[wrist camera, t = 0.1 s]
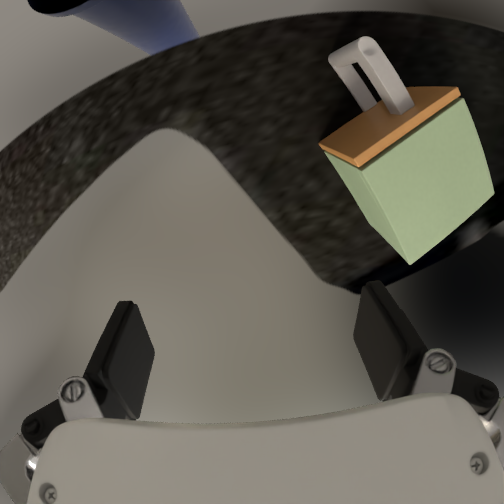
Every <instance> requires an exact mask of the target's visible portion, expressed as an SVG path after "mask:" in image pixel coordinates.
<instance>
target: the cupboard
mask: <svg viewBox="0 0 504 504" xmlns="http://www.w3.org/2000/svg"><path fill="white" fill-rule="evenodd" d="M324 152H325V154H326V155H327V157H328V158H329V160H330V161H331V163H332V164H333V166H334V167H335V169H336V170H337V172H338V173H339V175H340V176H341V178H342V179H343V181H344V183H345V184H346V186H347V187H348V189H349V190H350V192H351V194H352V195H353V197H354V199H355V200H356V202H357V204H358V205H359V207H360V209H361V210H362V212H363V214H364V215H365V217H366V219H367V221H368V222H369V224H370V225H372V226H373V227H374V228H375V229H376V230H377V231H378V232H379V233H380V234H381V235H382V236H383V237H384V238H385V239H386V240H387V241H388V243H389V244H390V245H391V246H392V247H393V248H394V249H395V250H396V251H397V252H398V253H399V254H400V255H401V256H402V257H403V258H404V259H405V260H406V261H407V263H408V264H409V265H411V264H412V263H413V262H415V261H416V260H417V259H419V258H420V257H421V256H422V255H424V254H425V253H426V252H428V251H429V250H430V249H431V248H433V247H434V246H435V245H436V244H438V243H439V242H440V241H441V240H442V239H444V238H445V237H446V236H447V235H449V234H450V233H451V232H452V231H453V230H454V229H456V228H457V227H458V226H459V225H460V224H461V223H463V222H464V221H465V220H466V219H467V218H468V217H469V216H471V215H472V214H473V213H474V212H475V211H476V210H477V209H478V208H479V207H480V206H482V205H483V204H484V203H485V202H486V201H487V200H488V199H489V198H490V197H491V196H492V195H493V194H494V190H493V185H492V181H491V177H490V173H489V170H488V166H487V162H486V159H485V155H484V152H483V149H482V146H481V143H480V140H479V137H478V134H477V131H476V128H475V125H474V123H473V120H472V117H471V115H470V112H469V110H468V107H467V105H466V103H465V100H464V98H456V99H455V100H453V101H452V102H450V103H449V104H447V105H446V106H445V107H443V108H442V109H440V110H439V111H437V112H436V113H435V114H433V115H432V116H430V117H429V118H428V119H426V120H425V121H423V122H422V123H421V124H419V125H418V126H416V127H415V128H413V129H412V130H411V131H409V132H408V133H406V134H405V135H404V136H402V137H401V138H399V139H398V140H397V141H395V142H394V143H392V144H391V145H390V146H388V147H387V148H385V149H384V150H383V151H381V152H380V153H378V154H377V155H376V156H374V157H373V158H371V159H370V160H369V161H367V162H366V163H364V164H363V165H362V166H360V167H357V166H355V165H353V164H351V163H349V162H348V161H346V160H344V159H342V158H340V157H338V156H336V155H334V154H332V153H330V152H328V151H324Z"/></svg>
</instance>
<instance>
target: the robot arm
mask: <svg viewBox="0 0 504 504" xmlns="http://www.w3.org/2000/svg"><path fill="white" fill-rule="evenodd" d="M353 335H354V341H355V344H356V346H357V348H358V350H359V353H360V355H361V358H362V360H363V363H364V365H365V367H366V370H367V372H368V375H369V377H370V380H371V382H372V385H373V387H374V390H375V392H376V395H377V397H378V399H379V400H382V401H383V402H380V403H376V404H371V405H366V406H362V407H357V408H352V409H347V410H342V411H337V412H331V413H326V414H320V415H313V416H306V417H299V418H291V419H282V420H272V421H261V422H246V423H220V424H218V423H217V424H190V423H163V422H147V421H136V419H138V418H139V417H140V413H141V409H142V405H143V400H144V396H145V392H146V388H147V384H148V379H149V375H150V371H151V368H152V364H153V360H154V356H155V355H154V354H155V352H154V348H153V345H152V343H151V340H150V338H149V335H148V332H147V330H146V327H145V324H144V322H143V319H142V317H141V314H140V311H139V308H138V306H137V304H134V303H133V302H132V301H119V302H118V303H117V305H116V307H115V309H114V312H113V313H112V315H111V317H110V319H109V321H108V323H107V325H106V327H105V329H104V332H103V334H102V335H101V337H100V339H99V341H98V344H97V346H96V348H95V350H94V352H93V355H92V357H91V359H90V361H89V363H88V366H87V368H86V370H85V373H84V375H83V377H79V376H73V377H70V378H68V379H66V380H65V381H63V383H62V384H61V385H60V387H59V388H58V393H57V394H58V399H57V400H55V401H53V402H52V403H50V404H48V405H46V406H45V407H43V408H41V409H39V410H37V411H36V412H34V413H32V414H31V415H29V416H28V417H26V419H25V420H24V421H23V423H22V427H21V432H22V434H21V435H19V434H18V433H17V434H16V435H15V436H14V437H13V438H12V440H10V442H8V443H7V445H6V446H4V447H3V449H2V450H1V451H0V483H1V484H2V486H3V487H4V489H5V490H6V492H7V493H8V495H9V496H10V498H11V499H12V501H13V502H14V503H15V504H504V396H503V397H502V399H501V398H500V397H499V391H498V388H497V387H496V385H495V384H494V383H493V382H491V381H489V380H487V379H484V378H481V377H479V376H476V375H473V374H471V373H468V372H465V371H462V370H460V369H457V368H456V361H455V359H454V357H453V356H452V355H451V354H450V353H449V352H447V351H445V350H443V349H431V350H429V351H428V349H427V347H426V346H425V345H424V343H423V341H422V340H421V338H420V336H419V335H418V333H417V332H416V330H415V329H414V327H413V326H412V324H411V322H410V321H409V320H408V318H407V317H406V315H405V313H404V312H403V311H402V310H401V309H400V308H399V306H398V305H397V303H396V302H395V301H394V299H393V298H392V296H391V295H390V293H389V292H388V290H387V289H386V288H385V286H384V285H383V283H382V282H381V281H373V282H367V283H366V286H363V287H362V292H361V298H360V303H359V309H358V314H357V319H356V324H355V329H354V334H353Z"/></svg>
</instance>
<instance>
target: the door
mask: <svg viewBox="0 0 504 504" xmlns="http://www.w3.org/2000/svg"><path fill="white" fill-rule="evenodd" d="M328 60H329V63H330V64H331V66H332V67H333V68H334V70H335V71H336V72H337V74H338V75H339V77H340V78H341V79H342V81H343V82H344V84H345V85H346V86H347V88H348V89H349V91H350V92H351V94H352V95H353V97H354V98H355V100H356V101H357V103H358V104H359V106H360V107H361V109H362V110H363V113H361V114H360V115H358V116H357V117H355V118H354V119H352V120H351V121H349V122H348V123H346V124H345V125H343V126H342V127H340V128H339V129H338V130H336V131H335V132H333V133H332V134H330V135H329V136H327V137H326V138H325V139H323V140H322V141H320V142H319V145H320V147H321V148H322V149H323V150H325V151H328V152H330V153H332V154H334V155H336V156H338V157H340V158H342V159H344V160H346V161H348V162H349V163H351V164H353V165H355V166H357V167H360V166H362V165H363V164H364V163H366V162H367V161H369V160H370V159H371V158H373V157H374V156H376V155H377V154H378V153H380V152H381V151H383V150H384V149H385V148H387V147H388V146H390V145H391V144H392V143H394V142H395V141H397V140H398V139H399V138H401V137H402V136H404V135H405V134H406V133H408V132H409V131H411V130H412V129H413V128H415V127H416V126H418V125H419V124H421V123H422V122H423V121H425V120H426V119H428V118H429V117H430V116H432V115H433V114H435V113H436V112H437V111H439V110H440V109H442V108H443V107H445V106H446V105H447V104H449V103H450V102H452V101H453V100H455V99H456V98H457V97H459V96H460V95H461V94H460V92H459V89H458V87H405V86H404V84H403V83H402V81H401V79H400V78H399V76H398V74H397V73H396V71H395V69H394V68H393V66H392V65H391V63H390V62H389V60H388V59H387V57H386V56H385V54H384V53H383V51H382V50H381V48H380V47H379V45H378V44H377V43H376V41H375V40H374V39H372V38H370V37H367V36H364V37H361V38H359V39H357V40H355V41H353V42H351V43H349V44H347V45H346V46H344V47H342V48H340V49H338V50H336V51H335V52H333V53H331V54H330V55H329V58H328ZM356 62H358V63H359V65H360V66H361V68H362V69H363V71H364V72H365V74H366V75H367V76H368V78H369V79H370V81H371V83H372V84H373V86H374V87H375V89H376V90H377V92H378V94H379V95H380V97H381V98H382V100H381V101H379V102H378V103H377V102H376V101H375V99H374V97H373V96H372V94H371V93H370V91H369V90H368V88H367V87H366V85H365V83H364V82H363V81H362V79H361V78H360V76H359V75H358V73H357V72H356V70H355V69H354V67H353V66H352V65H351V64H353V63H356Z"/></svg>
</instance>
